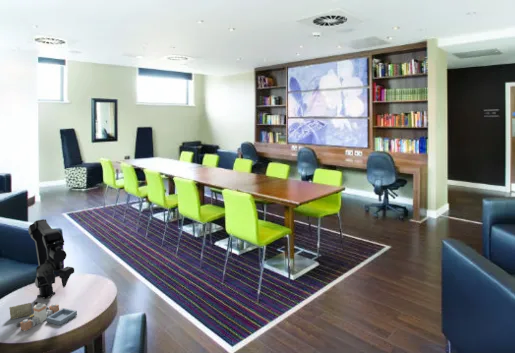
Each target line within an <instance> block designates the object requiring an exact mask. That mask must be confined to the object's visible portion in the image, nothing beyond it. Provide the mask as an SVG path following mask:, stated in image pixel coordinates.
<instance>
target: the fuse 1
mask: <svg viewBox="0 0 515 353" xmlns="http://www.w3.org/2000/svg"><path fill="white" fill-rule="evenodd" d="M21 321H22V320H21ZM21 321H19V322H20V325H21V326H20V330H21V331H24V330H25V331H26V332H27V331H28V330H30V329H31V328H32V327H33V326H32V325H31V320H28V319H26V318H25V320H24V319H23V321H22V322H21ZM25 331H24V332H25Z"/></svg>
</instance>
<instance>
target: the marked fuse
mask: <svg viewBox="0 0 515 353" xmlns="http://www.w3.org/2000/svg"><path fill="white" fill-rule="evenodd" d="M46 307H47V305H46V303H42V302H38V304H37V305H36V306H35V305H34V306H33V307H32V312H33V314H34V317H35V318H38V319H39V324H41V323H43V322H44V321H47V313H46Z"/></svg>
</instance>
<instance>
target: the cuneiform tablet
mask: <svg viewBox="0 0 515 353" xmlns="http://www.w3.org/2000/svg"><path fill="white" fill-rule="evenodd" d="M33 303H34V306H36V305H37V304H39V302H38V301H34V302H33ZM31 315H33V307H32V303H31V302H28V303H23V304H18V305H13V306H10V307H9V316H10V320H13V319H19V318H23V317H29V316H31Z"/></svg>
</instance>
